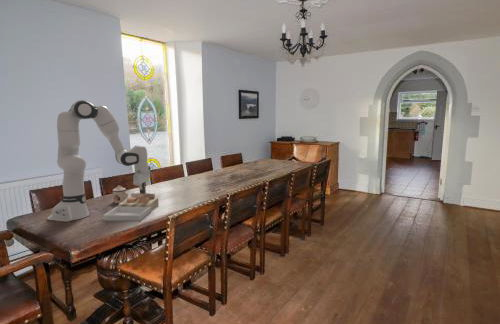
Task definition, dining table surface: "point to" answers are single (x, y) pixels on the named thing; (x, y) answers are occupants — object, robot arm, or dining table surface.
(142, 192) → the scraper
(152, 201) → the beige rectangular tray
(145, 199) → the tile right
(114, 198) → the teacup with lid
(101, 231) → the dining table surface
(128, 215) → the box
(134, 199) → the tile left
